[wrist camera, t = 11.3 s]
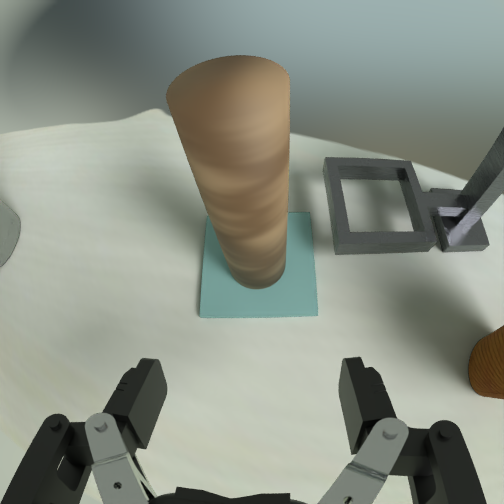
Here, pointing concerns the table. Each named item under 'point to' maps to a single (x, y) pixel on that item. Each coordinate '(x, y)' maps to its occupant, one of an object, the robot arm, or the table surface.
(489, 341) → the disposable coffee cup
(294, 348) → the table surface
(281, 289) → the felt coaster
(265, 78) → the walnut rod
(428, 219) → the ring stand
